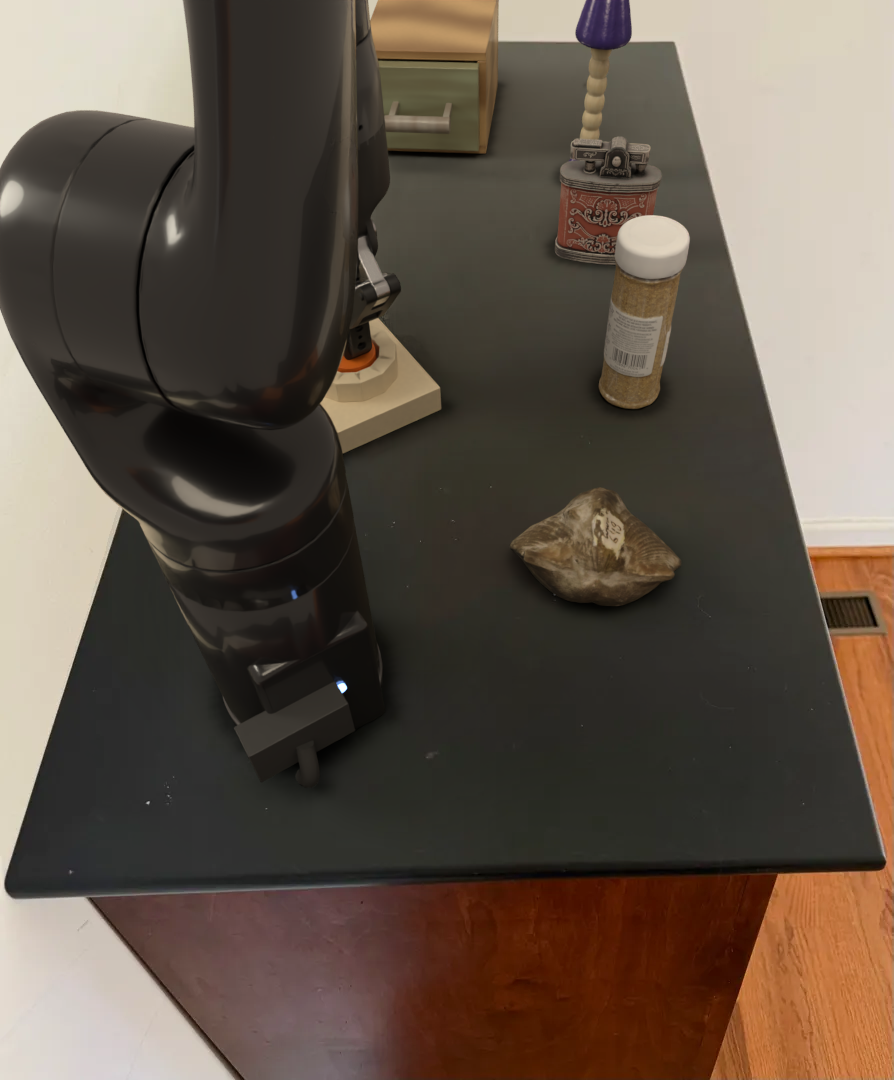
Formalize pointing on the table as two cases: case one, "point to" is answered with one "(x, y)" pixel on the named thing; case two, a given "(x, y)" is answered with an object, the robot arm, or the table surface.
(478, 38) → the cabinet
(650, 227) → the spice jar
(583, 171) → the lighter
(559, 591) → the fossilized seashell
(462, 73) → the drawer
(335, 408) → the button block
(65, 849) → the table surface
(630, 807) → the table surface
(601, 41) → the toy lamp
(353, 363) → the button
